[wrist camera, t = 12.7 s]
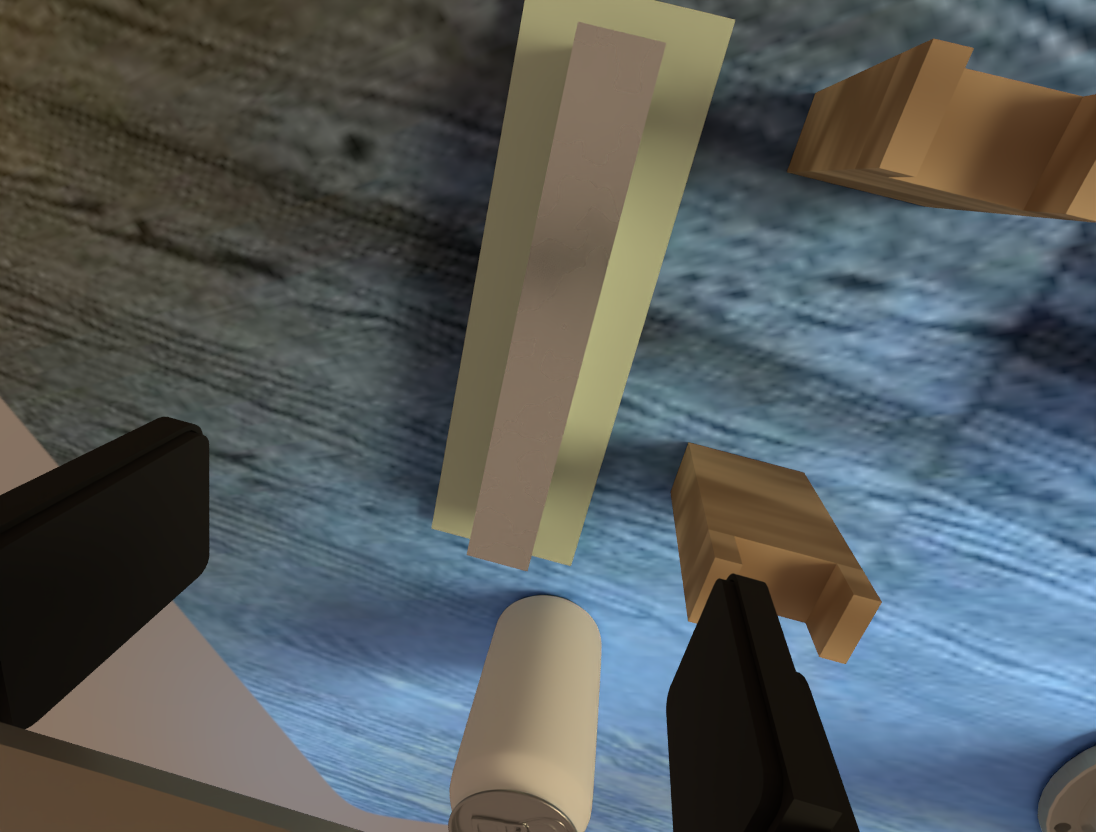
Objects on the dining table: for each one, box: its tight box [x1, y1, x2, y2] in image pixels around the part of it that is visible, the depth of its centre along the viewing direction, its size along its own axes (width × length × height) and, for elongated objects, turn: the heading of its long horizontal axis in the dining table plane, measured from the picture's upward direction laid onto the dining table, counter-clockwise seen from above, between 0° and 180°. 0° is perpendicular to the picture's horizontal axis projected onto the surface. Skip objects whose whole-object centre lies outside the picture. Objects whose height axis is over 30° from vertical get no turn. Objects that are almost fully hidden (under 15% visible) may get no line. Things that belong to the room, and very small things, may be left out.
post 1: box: [671, 443, 882, 664], centre depth 26 cm, size 3×6×10 cm, turn 77°
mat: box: [432, 0, 735, 566], centre depth 28 cm, size 26×8×1 cm, turn 167°
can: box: [448, 595, 601, 832], centre depth 30 cm, size 6×6×12 cm
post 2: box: [787, 39, 1096, 222], centre depth 19 cm, size 3×6×10 cm, turn 77°
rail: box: [467, 22, 666, 571], centre depth 25 cm, size 22×3×4 cm, turn 167°
